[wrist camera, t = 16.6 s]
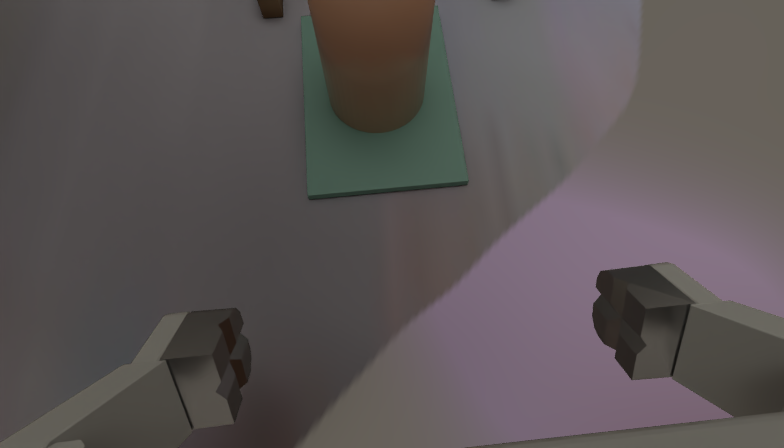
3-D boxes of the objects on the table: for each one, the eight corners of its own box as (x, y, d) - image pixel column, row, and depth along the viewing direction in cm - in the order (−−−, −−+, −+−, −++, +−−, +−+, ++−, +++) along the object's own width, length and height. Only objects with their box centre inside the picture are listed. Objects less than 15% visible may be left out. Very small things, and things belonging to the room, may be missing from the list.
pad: (309, 199, 19) (307, 195, 19) (302, 22, 23) (301, 16, 22) (467, 184, 19) (468, 180, 19) (436, 11, 23) (437, 5, 22)
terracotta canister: (330, 136, 20) (275, -87, 10) (326, 56, 21) (276, -202, 12) (429, 129, 20) (463, -98, 10) (418, 49, 21) (440, -210, 12)
